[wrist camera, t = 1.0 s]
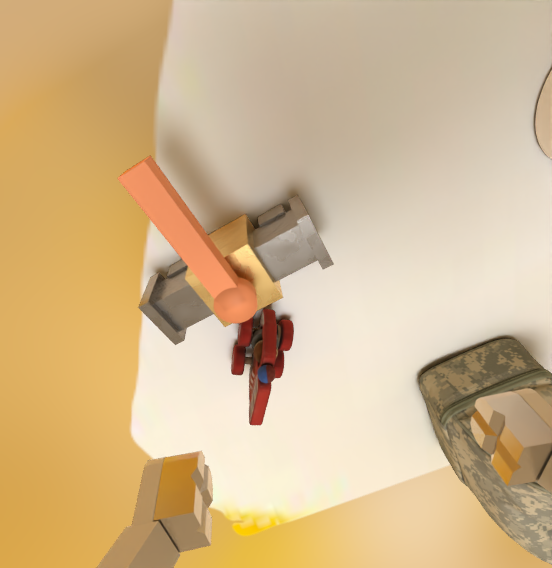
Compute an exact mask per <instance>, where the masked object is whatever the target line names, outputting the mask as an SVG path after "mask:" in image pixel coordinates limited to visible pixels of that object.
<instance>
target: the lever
mask: <svg viewBox="0 0 552 568" xmlns="http://www.w3.org/2000/svg"><path fill="white" fill-rule="evenodd" d="M118 180H119V181H120V182H121V184H122V185H123V186H124V187H125V188H126V190H127V191H128V192H129V194H130V195H131V196H132V197H133V199H134V200H135V201H136V202H137V203H138V205H139V206H140V207H141V208H142V210H143V211H144V212H145V213H146V215H147V216H148V217H149V218H150V220H151V221H152V222H153V223H154V225H155V226H156V227H157V228H158V230H159V231H160V232H161V233H162V235H163V236H164V237H165V238H166V240H167V241H168V242H169V243H170V245H171V246H172V247H173V248H174V250H175V251H176V252H177V253H178V254H179V256H180V257H181V258H182V259H183V261H184V262H185V263H186V264H187V266H188V267H189V268H190V269H191V271H192V272H193V273H194V274H195V276H196V277H197V278H198V279H199V281H200V282H201V283H202V284H203V286H204V287H205V288H206V289H207V291H208V292H209V293H210V294H211V296H212V297H213V298H214V311H215V313H216V315H217V316H218V317H219V318H220V319H222V320H223V321H226V322H229V323H242V322H245V321H247V320H249V319H250V318H252V317H253V316H254V314H255V313H256V311H257V306H258V305H257V294H256V289H255V287H254V286H253V284H252V283H251V282H249V281H248V280H246V279H243V278H239V277H238V276H237V275H236V273H235V272H234V271H233V269H232V268H231V267H230V265H229V264H228V262H227V261H226V260H225V258H224V257H223V255H222V254H221V253H220V251H219V250H218V248H217V247H216V246H215V244H214V243H213V242H212V240H211V239H210V237H209V236H208V235H207V233H206V232H205V230H204V229H203V228H202V226H201V225H200V224H199V222H198V221H197V219H196V218H195V217H194V215H193V214H192V212H191V211H190V210H189V208H188V207H187V205H186V204H185V203H184V201H183V200H182V199H181V197H180V196H179V194H178V193H177V192H176V190H175V189H174V187H173V186H172V185H171V183H170V182H169V181H168V179H167V178H166V176H165V175H164V174H163V172H162V171H161V169H160V168H159V167H158V165H157V164H156V163H155V161H154V160H153V158H152V157H151V156H149V157H147V158H145V159H144V160H142V161H141V162H139V163H137V164H136V165H134V166H133V167H131V168H130V169H128V170H127V171H125V172H124V173H123V174H122V175H120V176H119V177H118Z"/></svg>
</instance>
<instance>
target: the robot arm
mask: <svg viewBox="0 0 552 568" xmlns="http://www.w3.org/2000/svg"><path fill="white" fill-rule="evenodd" d="M535 126H536V135H537V139H538V142H539V145H540V147H541V148H542V150H543V151H544V153H545V154H546V155H547V156H548V157H549V158H551V159H552V70H551V72H550V74H549V76H548V78H547V80H546V82H545V84H544V87H543V89H542V92H541V95H540V98H539V101H538V106H537V111H536V120H535ZM475 407H476V409H477V411H476V412H475V413H474V414H473V415H472V417H471V422H470V424H471V429H472V433H473V435H474V437H475V439H476V441H477V443H478V444H479V446H480V447H481V448H482V449H483V450H485V451H486V452H488V453H490V454H491V463H492V465H493V466H494V468H495V469H496V471H497V472H498V473H499V475H500V476H501V478H502V479H503V481H504V482H505V484H506V485H507V486H511V485H517V484H523V483H529V482H535V481H538V482H537V483H538V484H539V485H541V486H542V487H544V488H545V489H546V490H548V491H549V492H550V493H552V407H551V406H550V405H549V404H548V403H547V402H546V401H545V400H544V399H543V398H542V397H541V396H540V395H539V394H538V393H537V392H536V391H535V390H533V389H531V388H529V389H521V390H517V391H512V392H511V391H509V392H505V393H500V394H495V395H490V396H485V397H481V398H479V399H477V400H476V402H475ZM204 463H205V457H204V455H203V452H202V451H198V452H192V453H187V454H181V455H176V456H170V457H163V458H158V459H153V460H148V461H147V463H146V465H145V467H144V470H143V475H142V480H141V484H140V489H139V493H138V498H137V503H136V508H135V512H134V516H133V521H132V526H128V527H126V528H125V529H124V530H123V532H122V533H121V535H120V536H119V537H118V539H117V540H116V542H115V543H114V544H113V546H112V547H111V548H110V550H109V551H108V553H107V554H106V555H105V557H104V558H103V559H102V561H101V562H100V564H99V565H98V566H97V568H174V566H175V564H176V562H177V560H178V558H179V556H180V552H184V551H188V550H193V549H197V548H201V547H206V546H210V545H211V528H212V517H211V515H210V513H209V510H208V507H209V506H210V504H211V502H212V501H213V485H212V476H211V472H210V469H209V466H207V465H205V464H204Z"/></svg>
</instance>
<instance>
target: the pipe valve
mask: <svg viewBox="0 0 552 568" xmlns="http://www.w3.org/2000/svg"><path fill="white" fill-rule="evenodd" d="M288 202H289V204H290V206H291V210H290V211H288V212H285V210H284V208H283V206H282V205H281V204H280V205H278V206H276V207H274V208H273V209H271V210H269V211H267V212H265V213H264V214H262V215H260V216H258V222H259V226H260V227H259V228H257V229H255V228H254V227H253V225H252V223H251V222H250V220H249V219H248V217H247V215H246V214H244V215H243V216H241V217H239V218H237V219H235V220H234V221H232V222H230V223H228V224H227V225H225V226H223V227H221V228H220V229H218V230H216V231H214V232H213V233H211V234H209V235H208V236H209V237H210V239H211V240H212V242H213V243H214V244H215V246H216V247H217V248H218V250H219V251H220V253H221V254H222V255H223V257H224V258H225V260H226V261H227V262H228V264H229V265H230V267H231V268H232V269H233V271H234V272H235V273H236V275H237V276H238V277H239V278H243V279H246V280H248V281H249V282H251V283H252V284H253V286H254V287H255V289H256V294H257V305H258V306H257V311H258V310H260V309H262V308H263V307H265V306H267V305H269V304H271V303H273V302H275V301H277V300H279V299H281V298H283V295H282V291H281V286H280V281H279V280H280V279H282V278H284V277H286V276H288V275H290V274H292V273H294V272H296V271H298V270H300V269H301V268H303V267H305V266H307V265H309V264H311V263H313V262H315V261H317V260H318V261H319V263H320V265H321V267H322V269H325V268H327V267H329V266H331V265H333V262H332V260H331V258H330V256H329V254H328V252H327V250H326V248H325V246H324V244H323V242H322V240H321V238H320V236H319V234H318V233H317V231H316V229H315V227H314V225H313V223H312V221H311V219H310V217H309V215H308V213H307V211H306V209H305V207H304V205H303V203H302V202H301V200H300V198H299V196H298V195H296V196H294V197H293V198H291V199H289V200H288ZM167 277H168V278H167V279H164V278H163V276H162V275H161V274H160V273H157V274H155V275H154V276H152V277H150V280H149V282H148V285H147V287H146V290H145V292H144V294H143V297H142V299H141V302H140V304H139V309H140V310H141V311H142V312H143V313H144V314H145V315H146V316H147V317H148V318H149V319H150V320H151V321H152V322H153V323H154V324H155V325H156V326H157V327H158V328H159V329H160V330H161V331H162V332H163V333H164V334H165V335H166V336H167V337H168V338H169V339H170V340H171V341H172V342H173V343H174V344H175V345H176V344H178V343H180V342H182V341H184V339H185V334H186V329H187V327H189V326H191V325H193V324H195V323H197V322H199V321H201V320H203V319H205V318H207V317H209V316H211V315H213V314H215V316H216V317H217V318H218V319H219V320H220V322H221V323H222V324H223V325H224V326H225V327H226V326H228V325H230V324H232V323H229V322H226V321H223V320H222V319H220V318H219V317H218V316H217V315H216V313H215V311H214V298H213V297H212V296H211V294H210V293H209V292H208V291H207V289H206V288H205V287H204V286H203V284H202V283H201V282H200V281H199V279H198V278H197V277H196V276H195V274H194V273H193V272H192V271H191V269H190V268H189V267H188V266H187V264H186V263H185V262H184V261H183V259H182V260H180V261H178V262H176V263H174V264H173V265H171V266H170V268H169V271H168V274H167Z"/></svg>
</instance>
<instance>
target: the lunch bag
mask: <svg viewBox="0 0 552 568" xmlns="http://www.w3.org/2000/svg"><path fill="white" fill-rule="evenodd" d="M419 384H420V390H421V392H422V395H423V397H424V400H425V402H426V405H427V408H428V412H429V415H430V417H431V420H432V423H433V426H434V430H435V433H436V436H437V438H438V441H439V444H440V446H441V449H442V450H443V452H444V454H445V456H446V458H447V459H448V461H449V463H450V464H451V466H452V468H453V470H454V471H455V473H456V475H457V476H458V478H459V479H460V481H461V482H462V483H464V484H465V485H466V486H468V487H469V489H470V490H471V491H472V492H473V493H474V495H475V496H476V497H477V499H478V500H479V502H480V503H481V505H482V506H483V508H484V509H485V510H486V512H487V513H488V514H489V516H490V517H491V518H492V519H493V520H494V521H495V522H496V523H497V525H498V526H499V527H500V528H501V529H502V530H503V531H504V532H505V533H506V534H507V535H508V536H510V538H512V539H513V540H514V541H515V542H517V543H518V544H519V545H520V546H522V547H523V548H524V549H525V550H527V551H528V552H530V553H531V554H533V555H534V556H536V557H537V558H539V559H541V560H543V561H545V562H547V563H550V564H552V493H550V492H549V491H548V490H546V489H545V488H544V487H542V486H541V485H539V484H538V483H537V482H538V481H535V482H529V483H523V484H517V485H511V486H507V485H506V484H505V482H504V481H503V479H502V478H501V476H500V475H499V473H498V472H497V471H496V469H495V468H494V466H493V465H492V463H491V454H490V453H488V452H486V451H485V450H483V449H482V448H481V447H480V446H479V444H478V443H477V441H476V439H475V437H474V435H473V433H472V429H471V424H470V422H471V417H472V415H473V414H474V413H475V412H476V411H477V409H476V407H475V402H476V400H477V399H479V398H481V397H485V396H490V395H495V394H500V393H505V392H509V391H511V392H512V391H517V390H521V389H529V388H531V389H533V390H535V391H536V392H537V393H538V394H539V395H540V396H541V397H542V398H543V399H544V400H545V401H546V402H547V403H548V404H549V405H550V406H551V407H552V373H550V372H549V371H548V370H545V369H544V368H543V367H542V366H541V365H540V364H539V363H538V362H537V361H536V360H535V359H534V358H533V357H532V356H531V355H530V354H529V353H528V352H527V351H526V349H525V348H524V347H523V345H522V344H521V343H520V342H519V341H517V340H514V339H500V340H496V341H493V342H490V343H487V344H485V345H482V346H480V347H477V348H475V349H472V350H470V351H467V352H465V353H463V354H460V355H458V356H456V357H454V358H452V359H450V360H447V361H445V362H443V363H441V364H439V365H437V366H435V367H433V368H431V369H429V370H427V371H426V372H425V373H423V374H422V375H421V377H420V379H419Z"/></svg>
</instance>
